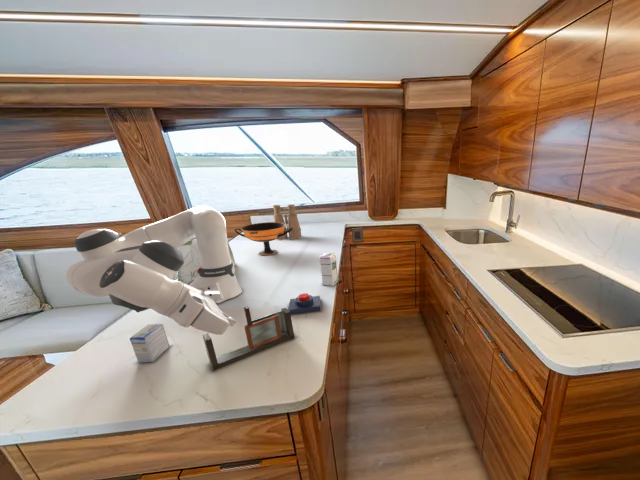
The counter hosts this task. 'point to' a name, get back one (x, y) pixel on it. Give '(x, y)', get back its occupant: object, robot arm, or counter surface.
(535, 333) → the counter surface
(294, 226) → the binoculars
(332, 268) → the syrup box
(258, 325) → the sash
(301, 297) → the button
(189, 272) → the grocery bag
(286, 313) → the window frame
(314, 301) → the button box
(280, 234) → the cup
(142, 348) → the medicine box
